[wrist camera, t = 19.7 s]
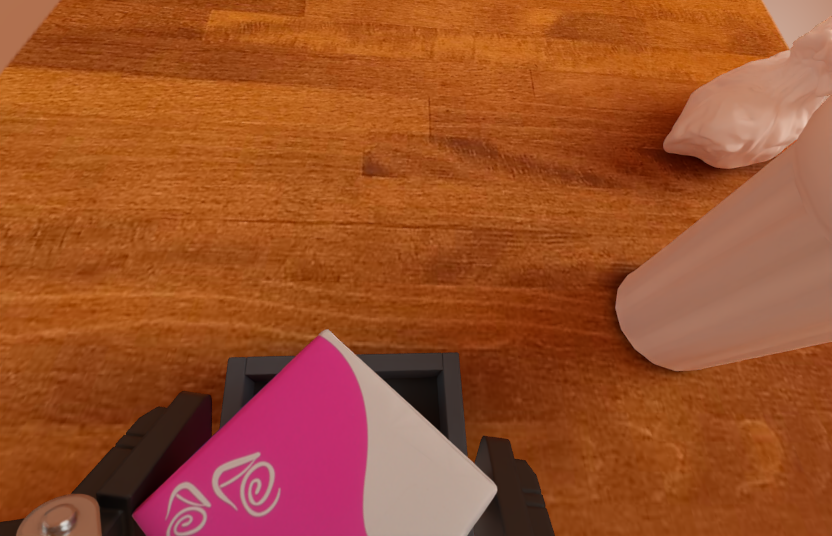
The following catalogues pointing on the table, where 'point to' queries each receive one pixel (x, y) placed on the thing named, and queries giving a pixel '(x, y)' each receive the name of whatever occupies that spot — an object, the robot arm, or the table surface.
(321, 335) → the supplement box
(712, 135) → the pink lumpy shape
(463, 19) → the table surface
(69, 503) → the robot arm
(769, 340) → the cup
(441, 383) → the dark grey square tray
